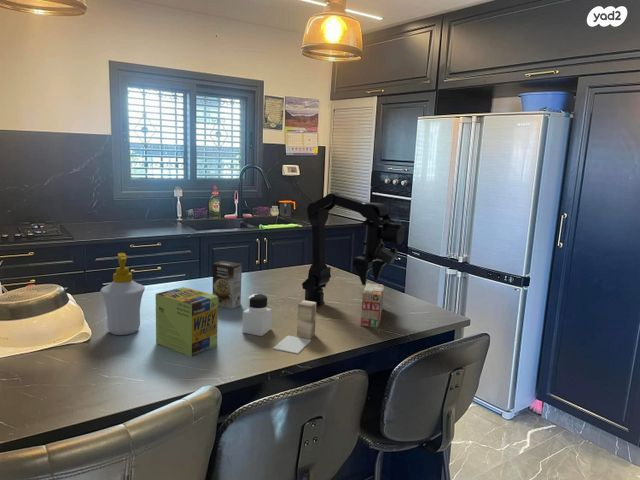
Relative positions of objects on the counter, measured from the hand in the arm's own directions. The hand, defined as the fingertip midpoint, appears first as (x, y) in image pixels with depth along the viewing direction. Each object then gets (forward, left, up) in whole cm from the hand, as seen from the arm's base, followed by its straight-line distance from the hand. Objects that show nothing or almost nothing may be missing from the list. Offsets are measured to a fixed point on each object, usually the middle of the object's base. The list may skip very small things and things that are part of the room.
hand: (370, 282), depth 168 cm
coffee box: (-49, -19, -14) cm, 55 cm away
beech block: (-9, -27, -14) cm, 32 cm away
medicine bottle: (-24, -33, -14) cm, 43 cm away
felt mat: (-9, -36, -14) cm, 39 cm away
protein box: (-34, -54, -14) cm, 66 cm away
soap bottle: (-57, -58, -14) cm, 83 cm away
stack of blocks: (0, +3, -14) cm, 14 cm away
